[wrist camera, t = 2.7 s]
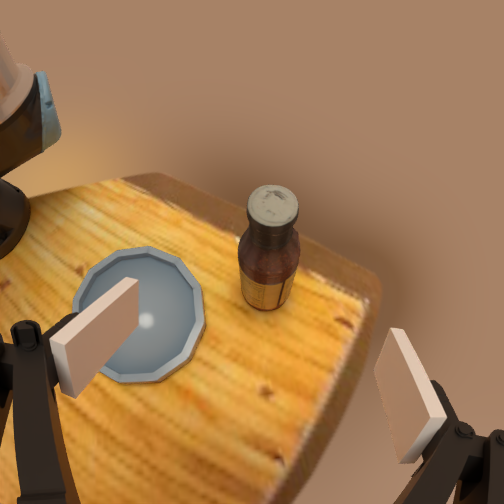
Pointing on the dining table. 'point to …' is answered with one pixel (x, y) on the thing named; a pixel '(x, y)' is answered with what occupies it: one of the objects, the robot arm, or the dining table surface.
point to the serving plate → (150, 313)
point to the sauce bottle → (269, 247)
